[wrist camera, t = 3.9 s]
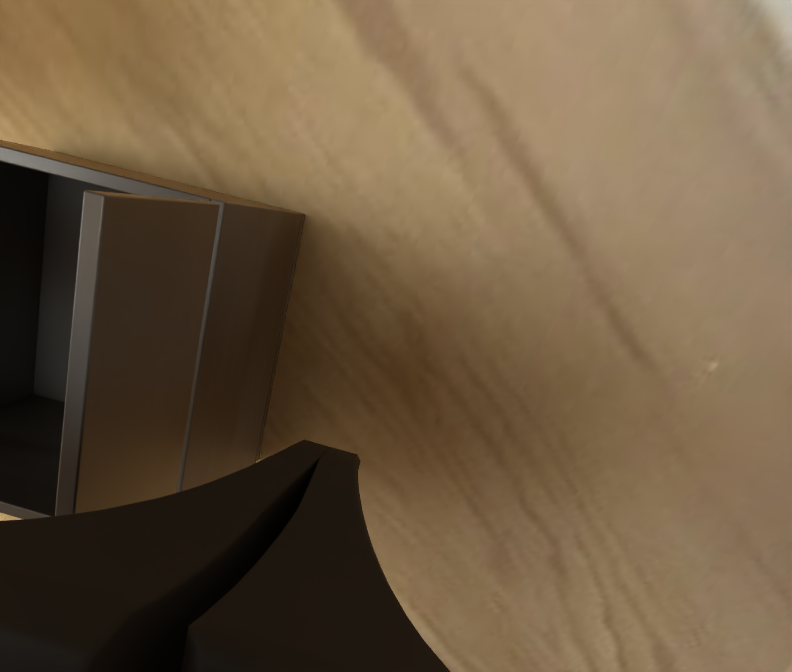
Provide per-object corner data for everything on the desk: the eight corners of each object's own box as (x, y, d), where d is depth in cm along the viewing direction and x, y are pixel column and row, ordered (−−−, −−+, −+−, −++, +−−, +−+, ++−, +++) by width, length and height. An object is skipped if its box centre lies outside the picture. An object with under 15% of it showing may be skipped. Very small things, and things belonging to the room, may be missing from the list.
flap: (83, 189, 6) (105, 194, 6) (207, 201, 12) (220, 204, 12) (30, 783, 9) (47, 785, 9) (152, 575, 14) (163, 576, 14)
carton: (49, 150, 19) (-162, 105, 13) (305, 214, 19) (225, 202, 12) (31, 396, 22) (-154, 467, 15) (258, 459, 21) (170, 563, 15)
